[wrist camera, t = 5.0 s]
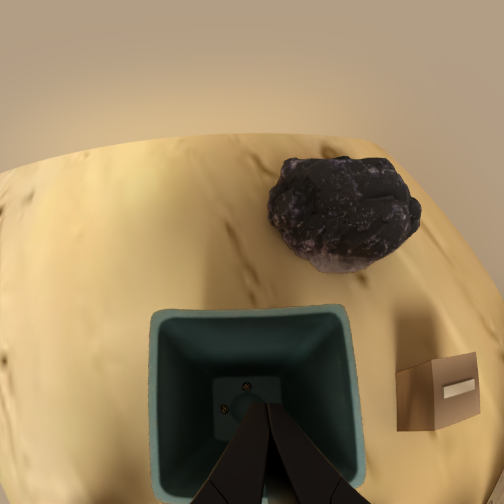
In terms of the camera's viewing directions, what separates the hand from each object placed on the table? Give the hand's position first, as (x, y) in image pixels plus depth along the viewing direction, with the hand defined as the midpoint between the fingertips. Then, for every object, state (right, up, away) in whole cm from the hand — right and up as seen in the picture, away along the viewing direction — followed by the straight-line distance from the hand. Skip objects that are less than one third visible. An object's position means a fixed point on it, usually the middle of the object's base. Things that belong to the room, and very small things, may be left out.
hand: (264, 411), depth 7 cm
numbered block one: (+14, -7, +10) cm, 18 cm away
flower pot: (-1, -6, +10) cm, 12 cm away
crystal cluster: (+8, +7, +19) cm, 22 cm away
